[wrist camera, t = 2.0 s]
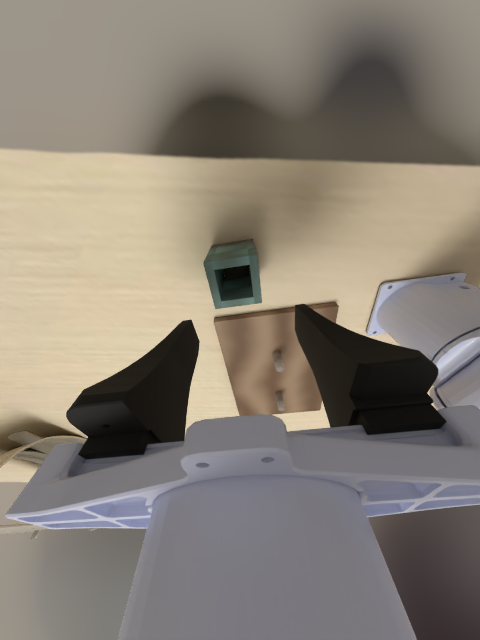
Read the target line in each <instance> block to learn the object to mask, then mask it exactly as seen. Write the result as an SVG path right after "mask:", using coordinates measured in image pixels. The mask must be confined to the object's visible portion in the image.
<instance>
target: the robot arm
mask: <svg viewBox="0 0 480 640" xmlns="http://www.w3.org/2000/svg"><path fill="white" fill-rule="evenodd" d="M465 278H466V274H465V273H462V272H461V273H454V274H446V275H439V276H431V277H424V278H417V279H409V280H402V281H394V282H387V283H383V284H382V285H381V286H380V288H379V291H378V295H377V298H376V301H375V305H374V308H373V311H372V314H371V318H370V321H369V324H368V328H367V331H366V333H367V334H368V335H378V334H386V333H388V334H389V335H390V336H391V337H392V338H393V339H394V340H395V341H396V342H397V343H398V344H399V345H400V346H396V345H392V344H389V343H385V342H381V341H378V340H375V339H372V338H369V337H366V336H363V335H360V334H358V333H355V332H353V331H350V330H348V329H346V328H344V327H342V326H340V325H338V324H336V323H334V322H332V321H330V320H329V319H327V318H325V317H324V316H322V315H320V314H319V313H317V312H316V311H314V310H313V309H311V308H310V307H308V306H307V305H305V304H300V305H295V332H296V335H297V338H298V341H299V344H300V346H301V348H302V350H303V352H304V354H305V356H306V358H307V360H308V363H309V365H310V367H311V369H312V371H313V374H314V377H315V379H316V382H317V385H318V388H319V391H320V394H321V397H322V400H323V404H324V407H325V410H326V413H327V417H328V420H329V424H330V427H331V428H321V429H310V430H300V431H289V432H287V430H286V426H285V424H284V422H283V421H282V419H280V418H278V417H275V416H273V415H268V414H256V415H245V416H235V417H225V418H215V419H205V420H201V421H197V422H195V423H193V424H192V425H191V426H190V427H189V428H187V431H186V436H185V426H186V414H187V406H188V398H189V391H190V385H191V380H192V376H193V373H194V369H195V365H196V361H197V357H198V351H199V339H198V336H197V334H196V331H195V328H194V326H193V323H192V320H186V321H182V322H181V323H180V324H179V325H178V326H177V327H176V328H175V329H174V330H173V331H172V332H171V333H170V334H169V335H168V336H167V337H166V338H165V339H163V340H162V341H161V342H160V343H159V344H158V345H157V346H156V347H154V348H153V349H152V350H151V351H150V352H148V353H147V354H146V355H144V356H143V357H142V358H140V359H139V360H137V361H136V362H134V363H133V364H131V365H130V366H128V367H127V368H125V369H123V370H122V371H120V372H118V373H116V374H115V375H113V376H111V377H109V378H107V379H105V380H103V381H101V382H99V383H97V384H95V385H93V386H91V387H89V388H86V389H84V390H83V391H82V393H81V394H80V395H79V397H78V398H77V399H76V400H75V402H74V403H73V404H72V406H71V407H70V408H69V410H68V411H67V413H66V416H67V419H68V421H69V422H70V423H71V424H72V425H73V426H75V427H76V428H77V429H79V430H80V431H81V432H83V433H84V434H85V435H87V436H88V438H87V440H86V442H85V443H80V442H74V443H63V444H57V445H55V446H54V448H53V449H52V450H51V452H50V453H49V455H48V456H47V457H46V459H45V460H44V462H43V463H42V464H41V466H40V467H39V469H38V470H37V471H36V473H35V474H34V476H33V477H32V478H31V480H30V481H29V483H28V484H27V485H26V487H25V488H24V490H23V491H22V492H21V494H20V495H19V497H18V498H17V499H16V501H15V502H14V503H13V505H12V506H11V508H10V509H9V511H8V512H7V513H6V515H5V516H6V518H9V519H13V520H17V521H21V522H25V523H29V524H33V525H37V526H41V527H45V528H49V529H67V528H68V529H69V528H147V531H146V535H145V538H144V542H143V546H142V550H141V554H140V558H139V561H138V565H137V569H136V572H135V576H134V580H133V584H132V588H131V592H130V596H129V599H128V603H127V607H126V611H125V614H124V618H123V622H122V626H121V629H120V633H119V637H118V640H417V639H416V636H415V634H414V632H413V630H412V627H411V624H410V622H409V619H408V617H407V614H406V612H405V609H404V607H403V604H402V602H401V599H400V597H399V594H398V592H397V590H396V587H395V584H394V582H393V580H392V577H391V575H390V572H389V570H388V567H387V565H386V562H385V560H384V557H383V555H382V552H381V550H380V547H379V545H378V542H377V540H376V537H375V535H374V532H373V530H372V528H371V526H370V523H369V520H368V518H367V517H373V516H381V515H389V514H398V513H405V512H413V511H422V510H430V509H438V508H448V507H458V506H468V505H480V288H478V287H476V286H473V285H470V284H468V283H465V282H463V281H464V280H465ZM389 286H390V287H389ZM432 385H433V386H434V387H432V388H431V386H432ZM430 388H431V390H430V396H429V395H428V394H427V392H428V391H429V389H430ZM431 403H434V406H435V407H436V409H437V410H438V411H437V410H436V409H435V408H434V407H433V406H432V405H431ZM184 439H185V441H184Z"/></svg>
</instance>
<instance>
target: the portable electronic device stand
mask: <svg viewBox="0 0 480 640" xmlns="http://www.w3.org/2000/svg"><path fill="white" fill-rule="evenodd" d="M7 438H8V439H10V440H12V441H14V442H17V443H19V444H22V445H24V446H21V447H18V448H15V449H13V450H10V451H8V452H6V453H2V454H0V468H1V467H2V466H3V465H4V464H5V463H6V462H8V461H9V460H10V459H11V458H14V459H22V460H28V461H31V462H34V463H37V464H40V465H41V464H42V463H43V462H44V460H45V459H46V457H47V456H48V455H49V453H50V452H51V450H52V449H53V448H54V446H55V445H57V444H63V443H74V442H80V443H85V442H86V440H87V439H85V438H81V437H76V436H52V437H47V438H43V437H41V436H38V435H36V434H33V433H31V432H28V431H19V432H16V433H14V434H11V435H9V436H8V437H7ZM29 447H30V448H33V449H35V450H38V451H41V452H38V451H23V450H25V449H27V448H29ZM43 529H49V528H45V527H41V526H37V525H33V524H29V523H28V524H14V525H1V526H0V534H8V533H19V532H25V533H28V532H34V531H35V532H34V533H33V535H32V537H31V539H35V538H37V536H38V534H39V532H40V530H43ZM95 529H96V528H89V531H91V530H95Z"/></svg>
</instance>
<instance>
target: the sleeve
mask: <svg viewBox="0 0 480 640" xmlns="http://www.w3.org/2000/svg"><path fill="white" fill-rule="evenodd" d="M244 265H249V270H250V274H243V275H236V276H229V277H225V276H224V271H223V269H224V268H230V267H237V266H244ZM204 267H205V271H206V275H207V279H208V282H209V286H210V290H211V294H212V298H213V302H214V306H215V309H219V308H227V307H234V306H242V305H249V304H257V303H262V298H261V287H260V276H259V265H258V254H257V251H256V248H255V245H254V242H253V239H250V240H244V241H238V242H231V243H225V244H219V245H213V246H211V248H210V250H209V252H208V255H207V257H206V259H205V261H204Z"/></svg>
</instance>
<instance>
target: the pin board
mask: <svg viewBox="0 0 480 640" xmlns="http://www.w3.org/2000/svg"><path fill="white" fill-rule="evenodd" d="M308 307H310V308H311V309H313V310H314V311H316V312H317V313H319V314H320V315H322V316H324V317H325V318H327V319H329V320H330V321H332V322H334V323H336V318H337V312H338V307H339V306H338V305H337V304H336V303H335V302H333V303H326V304H318V305H310V306H308ZM214 325H215V329H216V332H217V336H218V339H219V343H220V347H221V350H222V354H223V357H224V361H225V365H226V368H227V372H228V375H229V379H230V383H231V386H232V390H233V393H234V397H235V400H236V404H237V408H238V411H239V415H240V416H245V415H256V414H268V415H272V414H283V413H294V412H305V411H316V410H320V408H321V403H322V397H321V394H320V391H319V388H318V385H317V382H316V379H315V377H314V374H313V371H312V369H311V367H310V365H309V363H308V360H307V358H306V356H305V354H304V352H303V350H302V348H301V346H300V344H299V341H298V338H297V335H296V332H295V308H287V309H280V310H272V311H264V312H257V313H249V314H241V315H234V316H226V317H218V318H214Z"/></svg>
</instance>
